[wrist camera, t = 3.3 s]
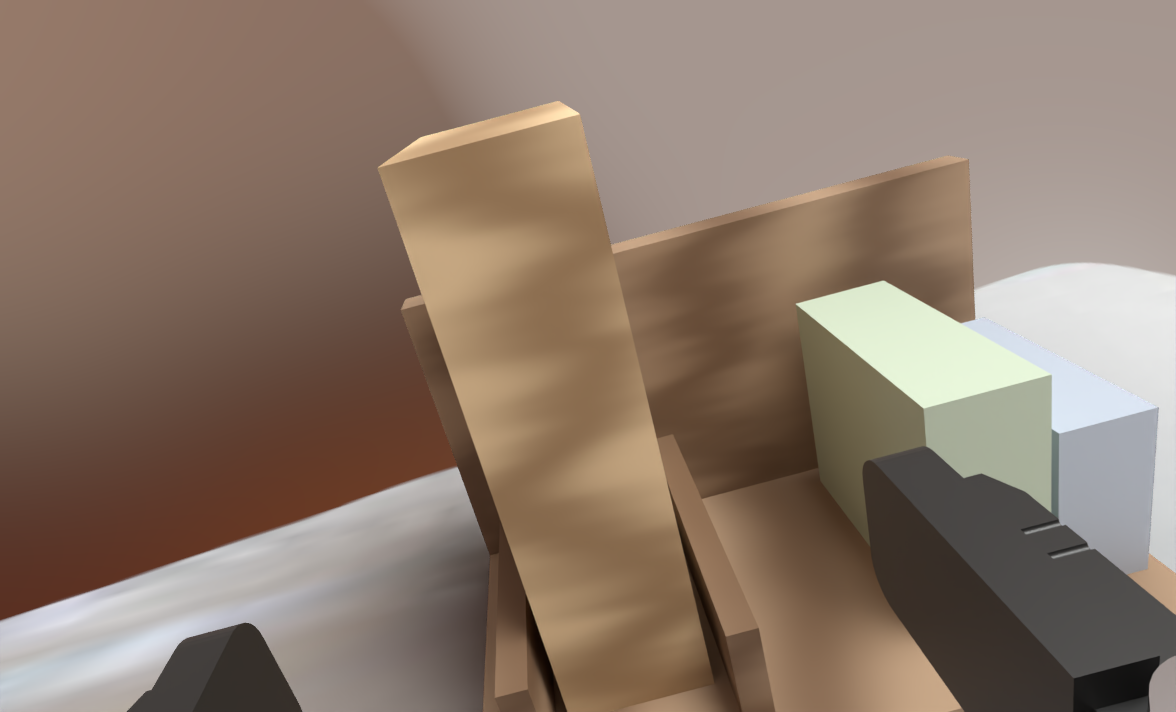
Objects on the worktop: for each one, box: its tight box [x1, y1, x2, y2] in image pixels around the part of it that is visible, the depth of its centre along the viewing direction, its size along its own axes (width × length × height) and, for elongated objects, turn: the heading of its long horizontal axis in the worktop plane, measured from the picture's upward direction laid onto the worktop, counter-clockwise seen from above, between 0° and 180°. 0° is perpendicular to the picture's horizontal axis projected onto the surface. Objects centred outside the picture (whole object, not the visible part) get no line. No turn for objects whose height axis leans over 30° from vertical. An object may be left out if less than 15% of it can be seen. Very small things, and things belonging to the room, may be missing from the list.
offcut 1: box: [796, 281, 1052, 546], centre depth 21 cm, size 3×8×7 cm, turn 6°
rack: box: [401, 156, 1176, 712], centre depth 21 cm, size 19×12×11 cm, turn 96°
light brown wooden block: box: [378, 101, 715, 712], centre depth 20 cm, size 4×7×15 cm, turn 6°
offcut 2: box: [961, 317, 1159, 575], centre depth 22 cm, size 2×7×5 cm, turn 6°
